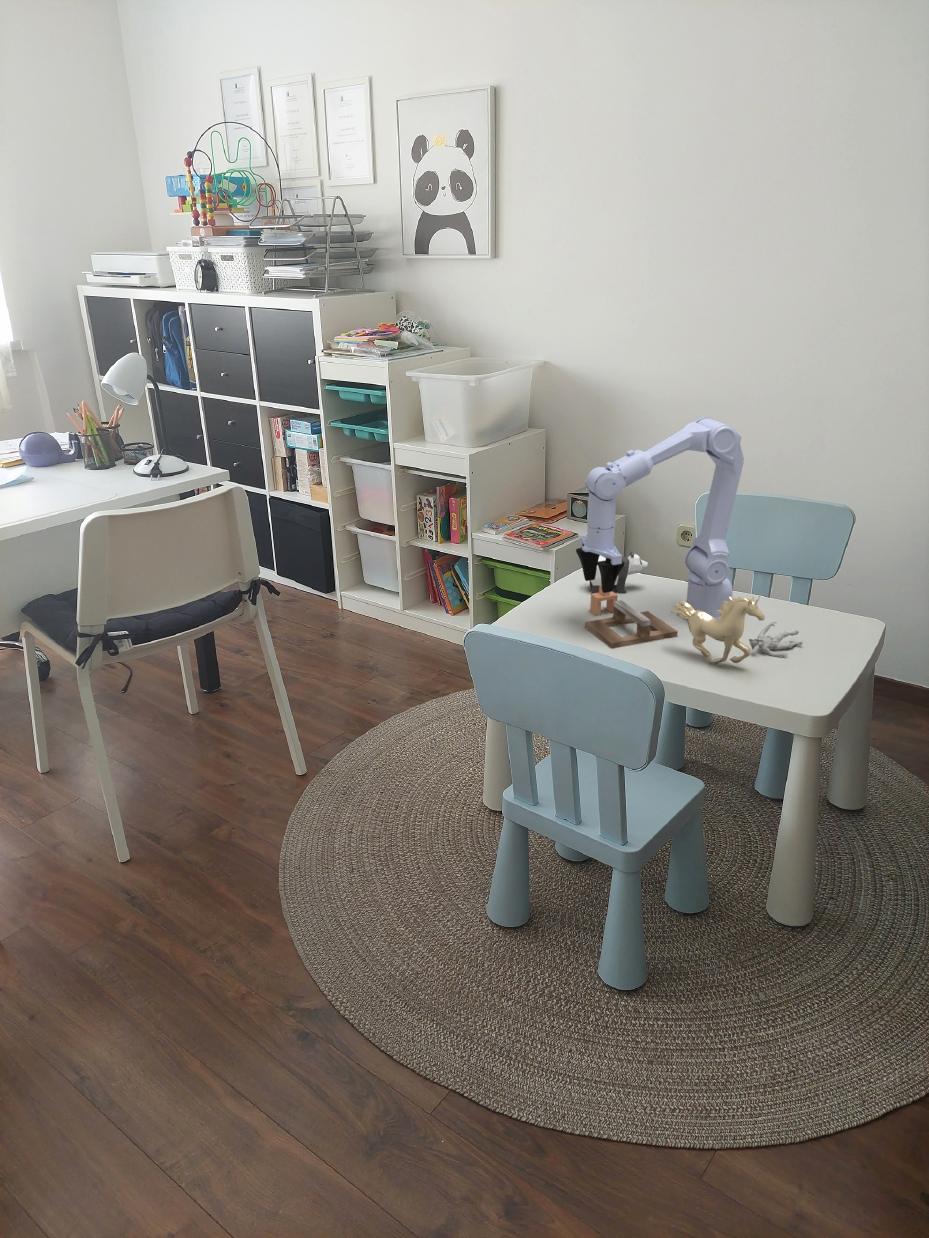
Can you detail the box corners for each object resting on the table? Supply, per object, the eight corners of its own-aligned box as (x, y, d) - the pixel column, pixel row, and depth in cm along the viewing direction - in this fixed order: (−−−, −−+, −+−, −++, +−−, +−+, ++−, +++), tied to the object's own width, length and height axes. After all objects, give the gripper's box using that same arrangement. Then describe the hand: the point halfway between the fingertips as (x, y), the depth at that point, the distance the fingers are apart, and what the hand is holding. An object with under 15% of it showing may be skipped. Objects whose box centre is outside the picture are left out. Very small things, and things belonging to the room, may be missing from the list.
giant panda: (588, 595, 214) (590, 557, 210) (584, 586, 219) (586, 550, 215) (648, 593, 215) (651, 555, 211) (643, 584, 220) (645, 548, 216)
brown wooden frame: (647, 616, 202) (649, 595, 200) (677, 636, 192) (679, 614, 190) (584, 627, 197) (585, 606, 195) (611, 648, 187) (613, 626, 185)
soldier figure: (808, 656, 185) (773, 653, 178) (789, 665, 188) (754, 662, 181) (796, 622, 187) (761, 617, 180) (777, 631, 191) (742, 627, 184)
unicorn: (662, 650, 186) (669, 573, 179) (672, 644, 188) (679, 567, 181) (751, 679, 173) (762, 598, 166) (761, 672, 176) (772, 592, 169)
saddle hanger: (610, 607, 207) (611, 582, 204) (616, 612, 204) (618, 586, 202) (590, 611, 205) (591, 585, 203) (596, 615, 202) (597, 590, 200)
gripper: (568, 518, 192) (566, 577, 197) (601, 537, 180) (598, 600, 185) (596, 514, 194) (594, 572, 200) (632, 533, 182) (628, 595, 187)
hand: (598, 585), depth 193 cm, fingers open, 7 cm apart
